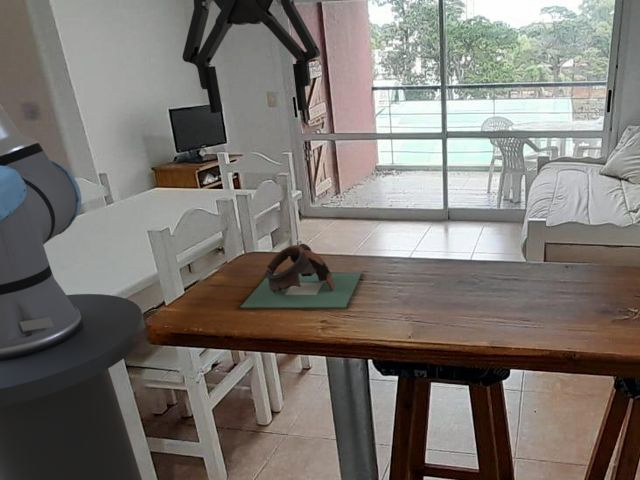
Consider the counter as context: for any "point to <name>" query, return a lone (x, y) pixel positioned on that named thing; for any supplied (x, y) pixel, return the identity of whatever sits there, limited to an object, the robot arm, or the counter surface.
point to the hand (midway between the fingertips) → (259, 111)
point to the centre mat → (306, 293)
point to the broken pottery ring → (297, 268)
